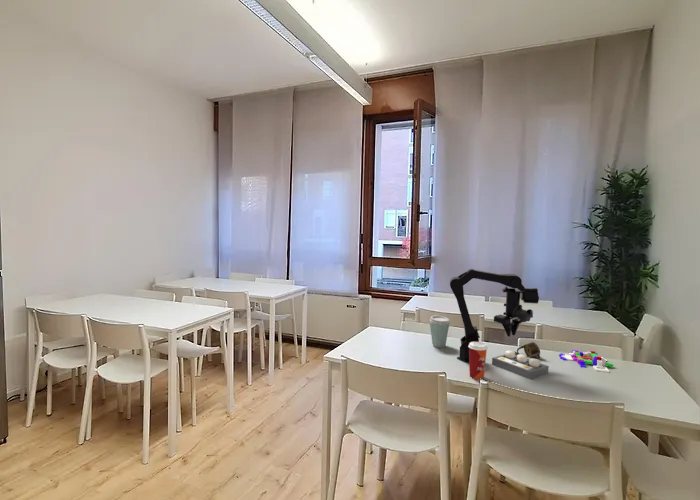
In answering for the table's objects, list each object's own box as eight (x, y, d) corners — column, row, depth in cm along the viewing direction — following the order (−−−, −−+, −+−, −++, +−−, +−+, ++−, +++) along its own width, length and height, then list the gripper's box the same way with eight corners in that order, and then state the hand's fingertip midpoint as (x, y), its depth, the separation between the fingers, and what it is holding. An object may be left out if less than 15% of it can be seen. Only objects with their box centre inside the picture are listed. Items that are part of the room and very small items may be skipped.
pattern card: (527, 370, 165) (527, 369, 165) (496, 358, 178) (497, 358, 178) (532, 368, 167) (532, 367, 167) (502, 357, 180) (502, 356, 179)
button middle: (523, 365, 172) (523, 358, 172) (514, 362, 176) (515, 355, 176) (528, 363, 175) (528, 356, 174) (520, 360, 178) (520, 353, 178)
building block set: (556, 350, 201) (556, 342, 201) (602, 356, 194) (603, 347, 193) (563, 367, 178) (564, 358, 177) (617, 374, 171) (617, 364, 170)
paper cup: (483, 382, 159) (485, 348, 158) (464, 377, 164) (466, 344, 162) (488, 375, 166) (489, 343, 165) (469, 371, 170) (471, 340, 169)
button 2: (535, 369, 167) (536, 362, 167) (527, 366, 171) (527, 359, 171) (541, 368, 170) (541, 360, 169) (532, 365, 173) (533, 357, 173)
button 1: (511, 360, 178) (511, 353, 177) (503, 358, 181) (503, 351, 181) (516, 359, 180) (516, 352, 179) (508, 356, 183) (509, 349, 183)
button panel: (530, 379, 163) (530, 372, 163) (491, 364, 179) (492, 357, 179) (548, 372, 170) (548, 366, 170) (509, 359, 186) (510, 352, 186)
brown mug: (545, 351, 183) (539, 340, 192) (516, 346, 185) (512, 335, 194) (541, 364, 185) (536, 352, 194) (513, 359, 187) (509, 348, 196)
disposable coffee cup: (452, 345, 206) (453, 316, 204) (445, 350, 197) (446, 321, 195) (432, 341, 211) (433, 313, 210) (425, 346, 202) (426, 318, 201)
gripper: (515, 308, 166) (514, 344, 168) (541, 303, 176) (539, 337, 178) (493, 303, 176) (492, 337, 177) (519, 298, 186) (517, 331, 187)
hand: (511, 335), depth 179 cm, fingers open, 3 cm apart
